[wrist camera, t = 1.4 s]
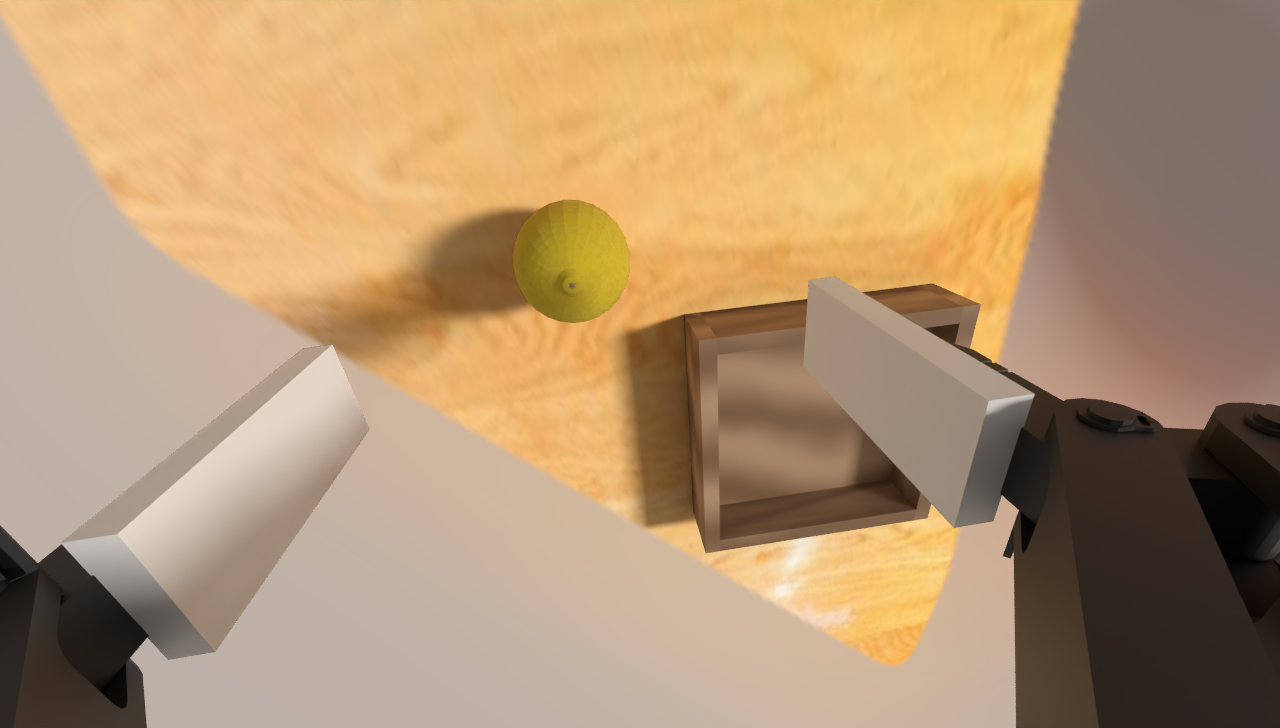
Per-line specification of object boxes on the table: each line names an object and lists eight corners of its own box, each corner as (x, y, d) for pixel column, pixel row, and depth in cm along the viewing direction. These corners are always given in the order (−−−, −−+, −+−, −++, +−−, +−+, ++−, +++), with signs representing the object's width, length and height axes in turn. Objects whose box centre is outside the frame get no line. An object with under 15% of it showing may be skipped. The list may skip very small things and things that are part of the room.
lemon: (568, 310, 28) (564, 371, 21) (500, 235, 26) (470, 275, 19) (642, 251, 27) (665, 294, 20) (579, 167, 25) (579, 183, 18)
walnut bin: (683, 314, 29) (698, 340, 25) (932, 283, 30) (980, 304, 26) (693, 511, 36) (705, 553, 33) (894, 480, 37) (927, 518, 34)
